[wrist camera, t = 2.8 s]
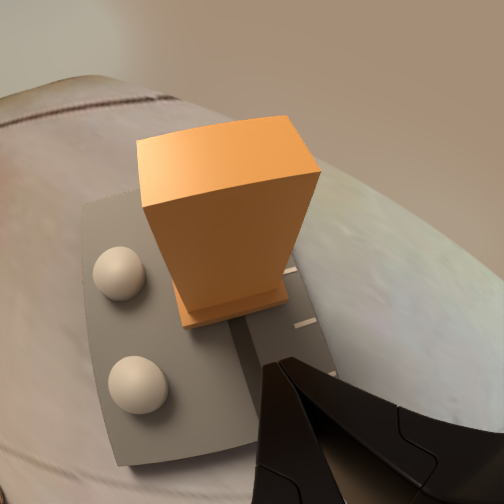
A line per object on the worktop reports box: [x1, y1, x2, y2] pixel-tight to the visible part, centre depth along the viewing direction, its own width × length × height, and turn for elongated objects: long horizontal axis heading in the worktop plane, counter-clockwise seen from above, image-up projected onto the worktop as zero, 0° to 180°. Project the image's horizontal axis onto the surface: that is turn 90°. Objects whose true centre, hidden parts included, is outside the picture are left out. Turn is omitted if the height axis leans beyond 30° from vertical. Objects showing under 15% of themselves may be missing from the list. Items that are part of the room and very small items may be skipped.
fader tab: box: [137, 115, 321, 330], centre depth 11 cm, size 4×5×9 cm
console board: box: [82, 189, 339, 466], centre depth 15 cm, size 16×12×2 cm
